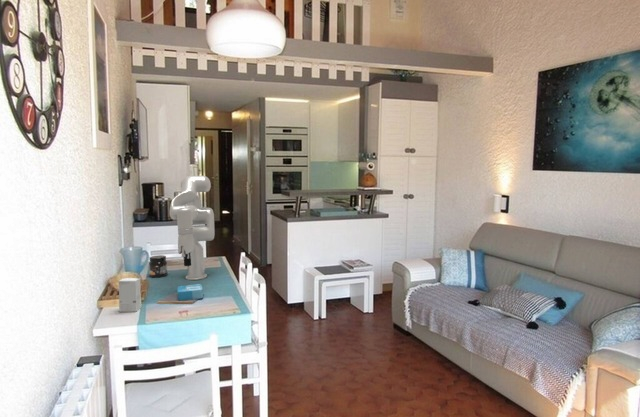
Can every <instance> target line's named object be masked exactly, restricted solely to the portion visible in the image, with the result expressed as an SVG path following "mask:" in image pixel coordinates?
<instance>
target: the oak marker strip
mask: <svg viewBox="0 0 640 417" xmlns="http://www.w3.org/2000/svg"><path fill="white" fill-rule="evenodd" d="M156 304H157V305H158V304H159V305H161V304H162V305H193V304H194V303H193V301H160V300H158V301H157V302H156Z"/></svg>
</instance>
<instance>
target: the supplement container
mask: <svg viewBox="0 0 640 417" xmlns="http://www.w3.org/2000/svg"><path fill="white" fill-rule="evenodd" d="M166 259H167V256H166V255H162V254H161V255H153V256H150V257H149V262H148V264H149V265H148V268H149V276H150V278H155V277H158V278H163V277H166V276H167V275H168V274H169V273H168V261H167V260H166ZM155 279H156V278H155Z"/></svg>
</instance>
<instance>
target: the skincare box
mask: <svg viewBox="0 0 640 417" xmlns="http://www.w3.org/2000/svg"><path fill="white" fill-rule="evenodd" d="M141 287H142V286H141V278H140V277H139V278H137V277H126V278H125V277H124V278H121V279H120V280H118V299H119V302H118V303H119V304H118V305H119V306H118V307H119V309H118V310H119V313H128V312H132V313H133V312H138V311H139V310H141V309H142V294H141V290H142V289H141Z"/></svg>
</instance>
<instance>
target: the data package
mask: <svg viewBox="0 0 640 417" xmlns="http://www.w3.org/2000/svg"><path fill="white" fill-rule="evenodd" d="M203 291H204V290H203V285H202V284H200V283H196V284H188V285H187V284H185V285H180V286H177V294H178V300H179V301H183V300H191V299H198V300H200V299H203V298H204V296H203V294H204V292H203Z"/></svg>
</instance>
